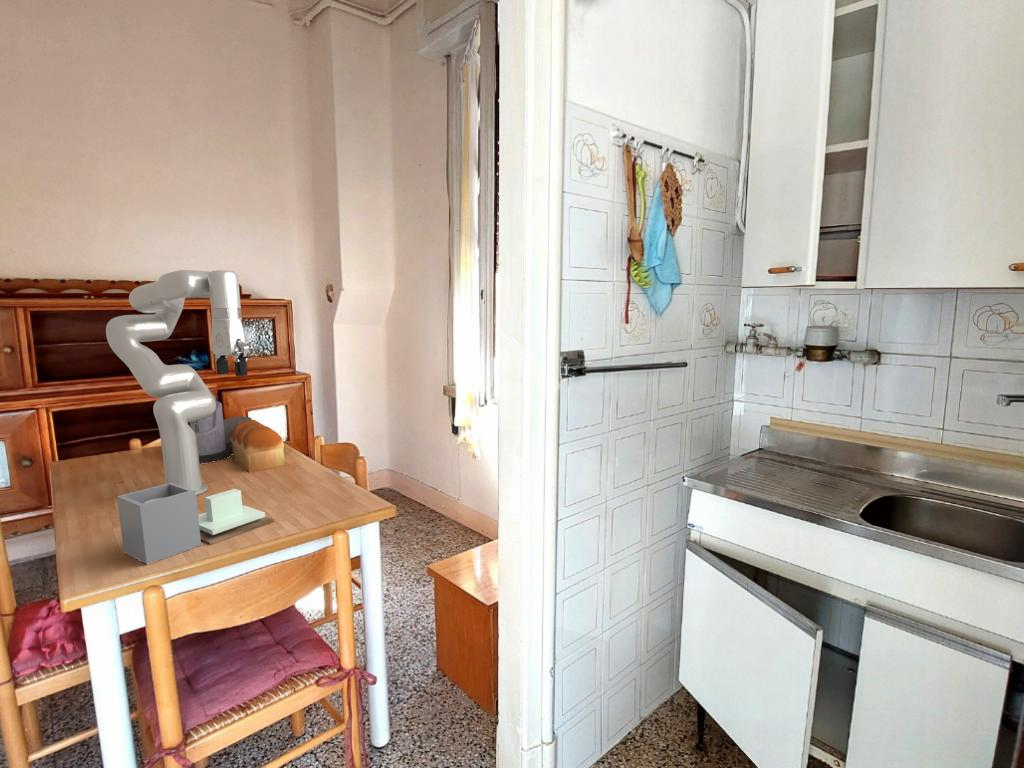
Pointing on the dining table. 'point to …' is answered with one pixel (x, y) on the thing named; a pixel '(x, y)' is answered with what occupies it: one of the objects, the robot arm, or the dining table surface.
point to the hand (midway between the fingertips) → (232, 374)
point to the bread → (256, 446)
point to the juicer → (215, 435)
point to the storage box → (159, 522)
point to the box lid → (226, 512)
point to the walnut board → (234, 530)
